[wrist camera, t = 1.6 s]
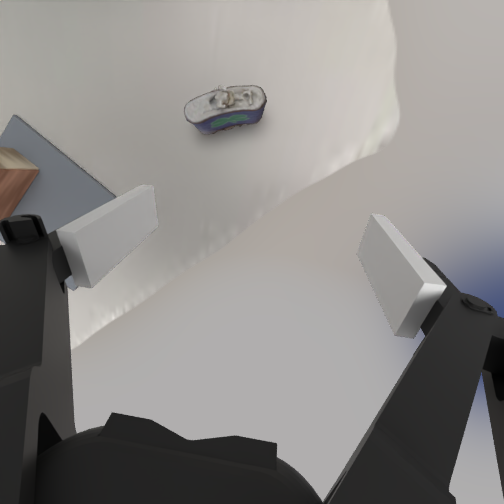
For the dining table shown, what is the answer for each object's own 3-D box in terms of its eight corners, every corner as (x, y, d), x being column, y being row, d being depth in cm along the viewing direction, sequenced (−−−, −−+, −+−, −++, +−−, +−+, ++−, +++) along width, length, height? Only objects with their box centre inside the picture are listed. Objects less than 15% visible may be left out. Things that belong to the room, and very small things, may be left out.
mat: (-39, 210, 39) (-43, 210, 38) (16, 115, 35) (13, 114, 34) (75, 289, 43) (73, 290, 42) (136, 213, 39) (134, 213, 38)
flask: (201, 137, 36) (182, 122, 26) (195, 114, 35) (174, 90, 25) (264, 122, 35) (270, 102, 25) (260, 99, 34) (265, 68, 24)
